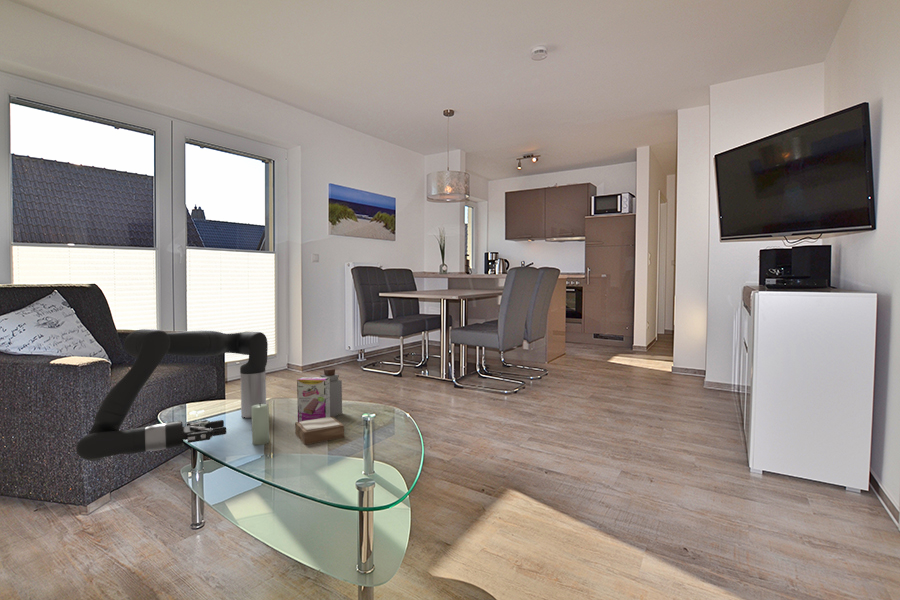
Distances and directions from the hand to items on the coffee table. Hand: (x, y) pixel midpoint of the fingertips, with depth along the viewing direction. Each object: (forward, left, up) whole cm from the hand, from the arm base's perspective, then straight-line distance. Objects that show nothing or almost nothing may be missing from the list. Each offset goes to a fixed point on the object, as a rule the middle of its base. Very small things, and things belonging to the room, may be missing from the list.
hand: (224, 426), depth 143 cm
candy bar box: (-14, +32, -7) cm, 35 cm away
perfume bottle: (-20, +40, -7) cm, 45 cm away
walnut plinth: (+4, +28, -7) cm, 30 cm away
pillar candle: (0, +10, -7) cm, 13 cm away
